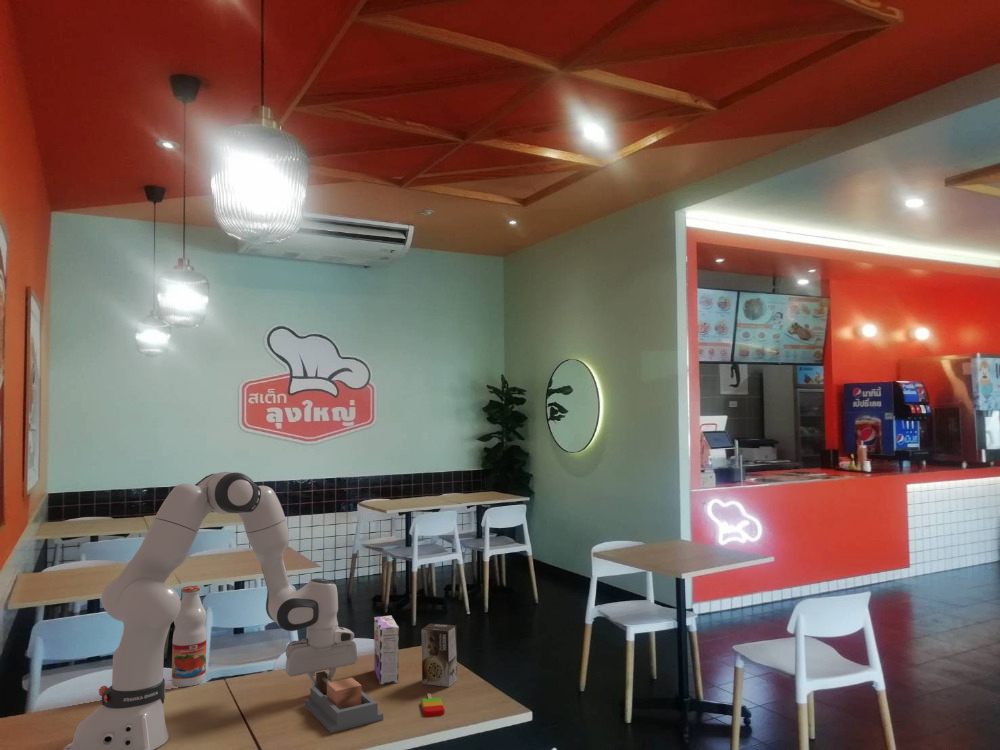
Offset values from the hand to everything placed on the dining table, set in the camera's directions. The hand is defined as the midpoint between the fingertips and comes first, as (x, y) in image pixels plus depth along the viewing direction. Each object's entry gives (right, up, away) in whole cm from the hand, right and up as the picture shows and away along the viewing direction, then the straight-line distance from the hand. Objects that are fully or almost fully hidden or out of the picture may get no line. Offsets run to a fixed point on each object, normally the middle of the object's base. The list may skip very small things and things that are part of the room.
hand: (321, 685), depth 198 cm
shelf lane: (+9, -1, -14) cm, 17 cm away
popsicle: (+33, -2, -10) cm, 34 cm away
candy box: (+16, -3, +13) cm, 21 cm away
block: (+5, -1, -8) cm, 10 cm away
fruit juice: (-43, -4, +10) cm, 44 cm away
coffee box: (+33, -3, +8) cm, 34 cm away
